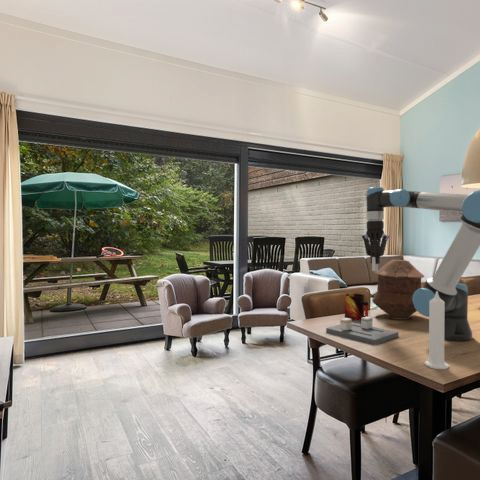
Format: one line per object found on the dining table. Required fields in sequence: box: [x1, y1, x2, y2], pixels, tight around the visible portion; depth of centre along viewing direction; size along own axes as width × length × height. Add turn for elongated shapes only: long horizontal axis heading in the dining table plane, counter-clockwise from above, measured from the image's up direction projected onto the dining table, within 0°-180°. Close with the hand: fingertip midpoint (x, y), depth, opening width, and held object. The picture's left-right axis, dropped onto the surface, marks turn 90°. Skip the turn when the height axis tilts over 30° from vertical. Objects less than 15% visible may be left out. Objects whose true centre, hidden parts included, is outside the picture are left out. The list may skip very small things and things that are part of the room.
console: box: [325, 321, 399, 346], centre depth 165 cm, size 24×18×2 cm
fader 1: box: [339, 317, 353, 330], centre depth 166 cm, size 3×4×4 cm
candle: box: [424, 291, 450, 370], centre depth 126 cm, size 7×7×25 cm
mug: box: [344, 293, 369, 321], centre depth 195 cm, size 10×14×12 cm
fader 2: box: [360, 316, 374, 329], centre depth 168 cm, size 3×4×4 cm
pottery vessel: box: [371, 259, 425, 320], centre depth 198 cm, size 26×26×30 cm
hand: (375, 270), depth 178 cm, fingers closed
